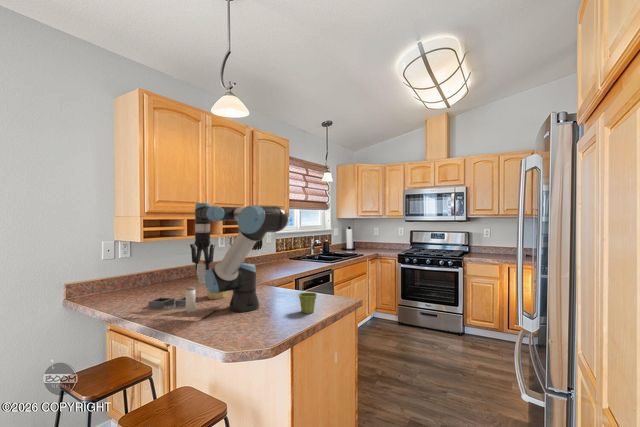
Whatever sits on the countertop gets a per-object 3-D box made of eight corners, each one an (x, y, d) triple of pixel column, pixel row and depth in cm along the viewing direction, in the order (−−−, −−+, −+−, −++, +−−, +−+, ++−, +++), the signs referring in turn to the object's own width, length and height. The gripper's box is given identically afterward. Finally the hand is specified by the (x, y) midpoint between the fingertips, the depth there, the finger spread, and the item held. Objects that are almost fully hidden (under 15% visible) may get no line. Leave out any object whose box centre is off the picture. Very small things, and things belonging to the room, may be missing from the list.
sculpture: (213, 303, 175) (213, 283, 175) (203, 299, 183) (203, 280, 183) (232, 299, 183) (232, 280, 184) (221, 296, 192) (221, 278, 192)
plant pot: (299, 309, 164) (299, 292, 164) (317, 309, 163) (317, 292, 163) (297, 314, 154) (297, 296, 154) (316, 314, 154) (316, 296, 154)
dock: (198, 304, 172) (198, 296, 172) (183, 312, 158) (183, 303, 158) (164, 303, 175) (164, 295, 175) (147, 310, 161) (147, 301, 162)
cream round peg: (197, 312, 157) (197, 286, 158) (192, 315, 153) (192, 288, 153) (188, 312, 158) (189, 286, 158) (183, 315, 154) (183, 288, 154)
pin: (208, 282, 171) (208, 260, 171) (204, 283, 166) (204, 261, 167) (200, 281, 171) (200, 259, 171) (196, 283, 167) (196, 260, 167)
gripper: (220, 231, 172) (220, 275, 171) (192, 231, 174) (192, 274, 174) (213, 232, 164) (213, 277, 164) (184, 232, 167) (184, 277, 166)
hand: (202, 276), depth 169 cm, fingers closed on pin, 3 cm apart
